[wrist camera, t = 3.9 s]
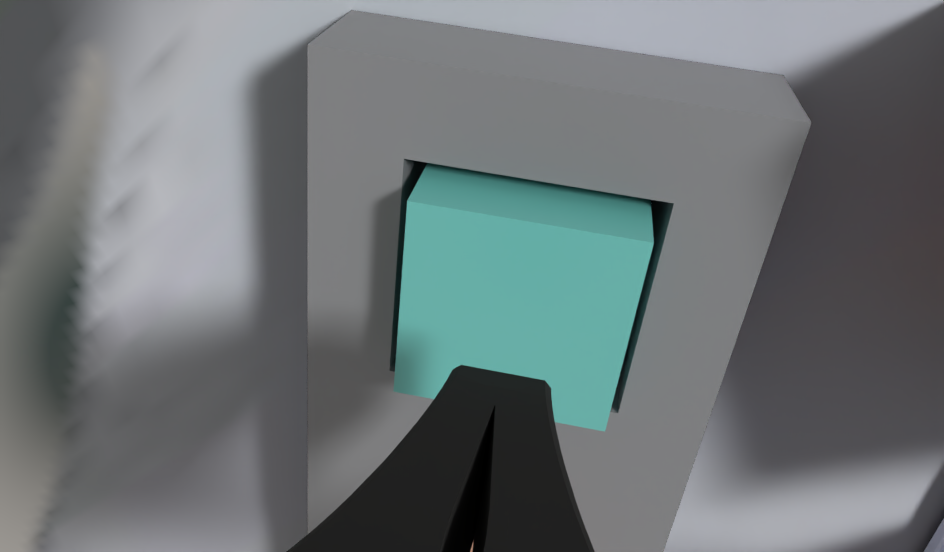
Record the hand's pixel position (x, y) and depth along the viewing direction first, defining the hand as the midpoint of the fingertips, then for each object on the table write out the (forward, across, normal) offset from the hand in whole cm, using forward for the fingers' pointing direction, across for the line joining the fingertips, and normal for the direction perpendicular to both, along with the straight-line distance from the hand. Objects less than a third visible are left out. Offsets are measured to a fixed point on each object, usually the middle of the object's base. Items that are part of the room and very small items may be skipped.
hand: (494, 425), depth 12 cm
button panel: (+6, 0, +8) cm, 10 cm away
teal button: (+7, 0, 0) cm, 7 cm away
